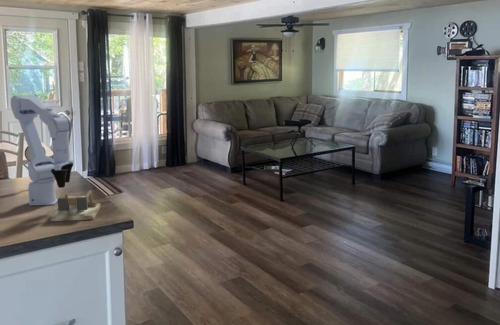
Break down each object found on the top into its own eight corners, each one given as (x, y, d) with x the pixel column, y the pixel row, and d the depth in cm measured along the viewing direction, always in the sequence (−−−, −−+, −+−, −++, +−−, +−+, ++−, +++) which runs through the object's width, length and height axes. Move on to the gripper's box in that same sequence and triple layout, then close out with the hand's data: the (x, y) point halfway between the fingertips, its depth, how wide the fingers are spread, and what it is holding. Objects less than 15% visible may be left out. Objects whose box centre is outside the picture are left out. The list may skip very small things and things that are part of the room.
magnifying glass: (28, 189, 211) (24, 144, 207) (27, 188, 213) (23, 144, 209) (48, 186, 216) (45, 142, 212) (48, 185, 218) (44, 142, 214)
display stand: (50, 221, 170) (48, 206, 168) (60, 208, 184) (59, 194, 183) (93, 219, 172) (92, 204, 171) (100, 206, 186) (99, 193, 185)
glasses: (58, 210, 171) (57, 198, 170) (65, 202, 182) (64, 191, 181) (87, 209, 173) (86, 197, 172) (92, 201, 183) (91, 190, 182)
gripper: (67, 152, 171) (70, 189, 174) (76, 145, 185) (78, 179, 188) (47, 153, 170) (50, 190, 173) (57, 146, 184) (60, 180, 187)
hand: (64, 184), depth 180 cm, fingers open, 7 cm apart
